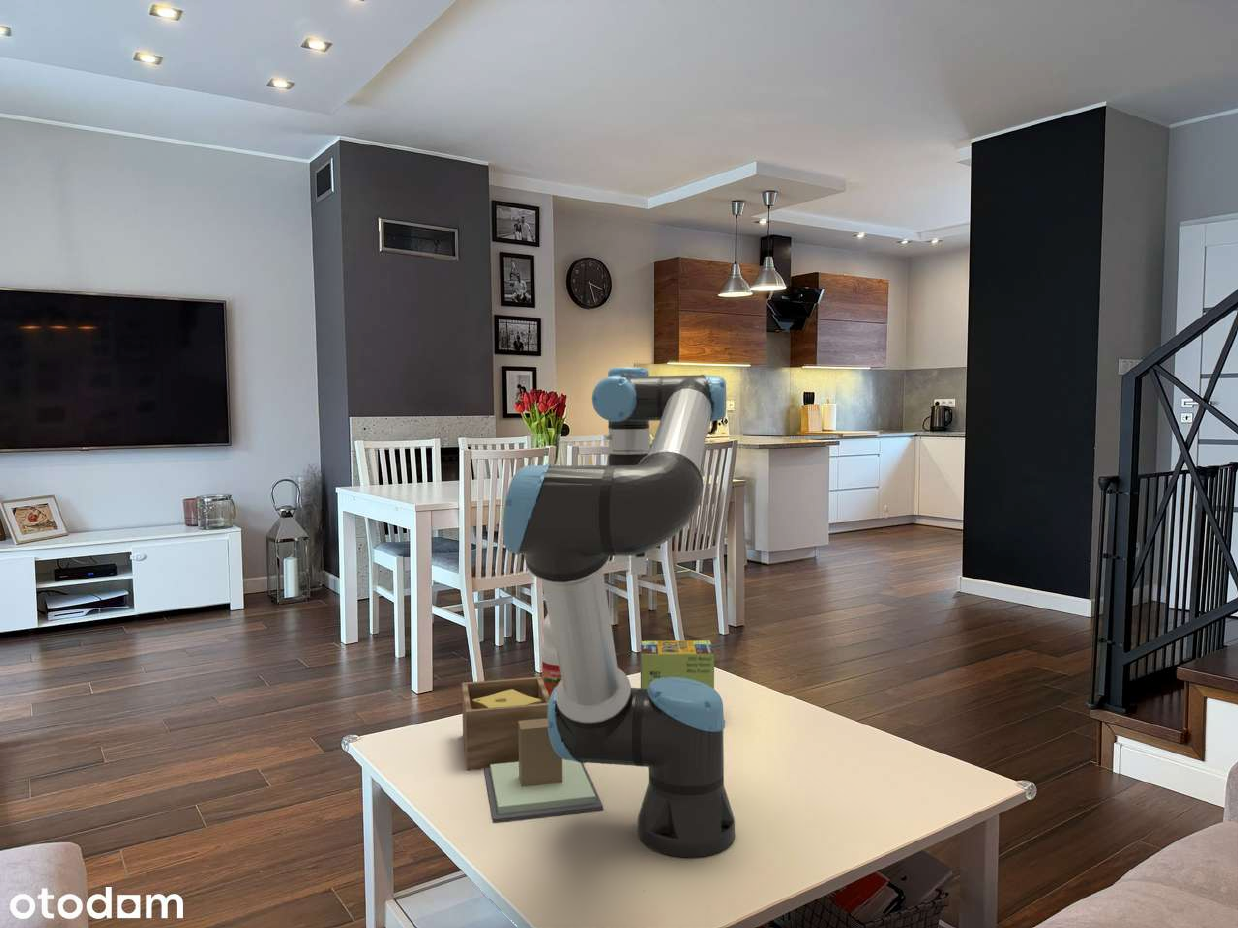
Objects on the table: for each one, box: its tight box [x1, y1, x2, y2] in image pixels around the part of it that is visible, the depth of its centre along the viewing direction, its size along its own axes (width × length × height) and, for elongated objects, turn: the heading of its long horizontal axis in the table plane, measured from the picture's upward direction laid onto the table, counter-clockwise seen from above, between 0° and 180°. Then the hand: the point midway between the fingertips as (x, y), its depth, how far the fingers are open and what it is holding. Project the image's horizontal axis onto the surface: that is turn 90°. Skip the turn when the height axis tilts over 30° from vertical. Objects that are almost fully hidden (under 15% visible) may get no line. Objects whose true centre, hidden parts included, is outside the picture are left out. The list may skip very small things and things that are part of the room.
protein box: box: [640, 639, 715, 690], centre depth 182 cm, size 10×15×16 cm
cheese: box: [471, 689, 542, 709], centre depth 166 cm, size 10×11×10 cm
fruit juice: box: [541, 612, 562, 697], centre depth 184 cm, size 9×9×28 cm
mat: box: [483, 763, 604, 823], centre depth 148 cm, size 20×18×1 cm
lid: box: [490, 718, 595, 814], centre depth 148 cm, size 17×16×11 cm
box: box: [461, 676, 550, 771], centre depth 166 cm, size 17×16×11 cm
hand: (629, 567), depth 157 cm, fingers open, 13 cm apart
